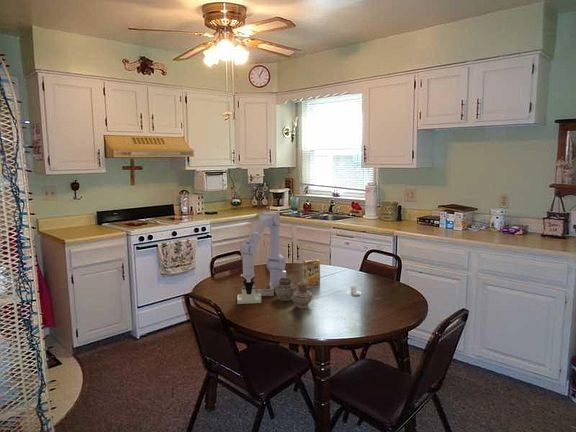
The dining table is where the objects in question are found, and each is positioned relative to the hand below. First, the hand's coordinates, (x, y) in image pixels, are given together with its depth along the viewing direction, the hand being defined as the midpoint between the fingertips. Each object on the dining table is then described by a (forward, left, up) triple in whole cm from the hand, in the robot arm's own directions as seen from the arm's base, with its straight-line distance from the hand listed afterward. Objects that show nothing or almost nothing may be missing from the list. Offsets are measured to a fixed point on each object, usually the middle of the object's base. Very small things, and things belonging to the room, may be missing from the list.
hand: (249, 291), depth 221 cm
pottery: (-22, +6, -5) cm, 24 cm away
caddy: (0, 0, -4) cm, 4 cm away
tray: (0, 0, -5) cm, 5 cm away
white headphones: (-54, -3, -5) cm, 54 cm away
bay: (-7, -9, -5) cm, 13 cm away
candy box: (-35, -19, -5) cm, 41 cm away
